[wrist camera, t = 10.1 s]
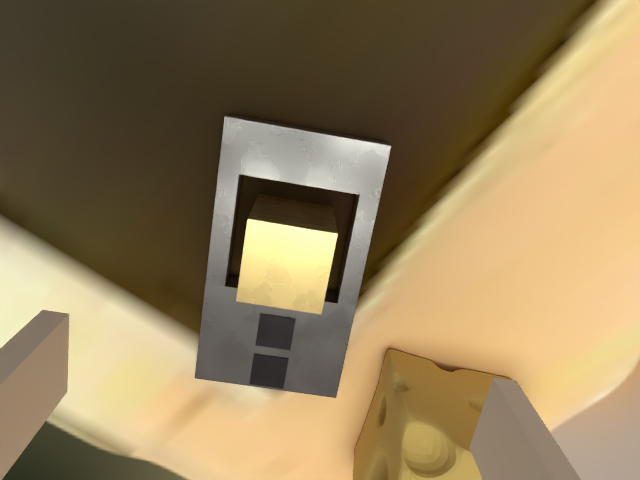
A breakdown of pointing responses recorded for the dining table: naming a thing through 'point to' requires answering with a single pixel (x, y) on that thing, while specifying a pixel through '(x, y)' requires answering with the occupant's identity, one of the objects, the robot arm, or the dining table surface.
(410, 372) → the cheese
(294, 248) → the yellow cube
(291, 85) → the dining table surface
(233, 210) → the metal plate
